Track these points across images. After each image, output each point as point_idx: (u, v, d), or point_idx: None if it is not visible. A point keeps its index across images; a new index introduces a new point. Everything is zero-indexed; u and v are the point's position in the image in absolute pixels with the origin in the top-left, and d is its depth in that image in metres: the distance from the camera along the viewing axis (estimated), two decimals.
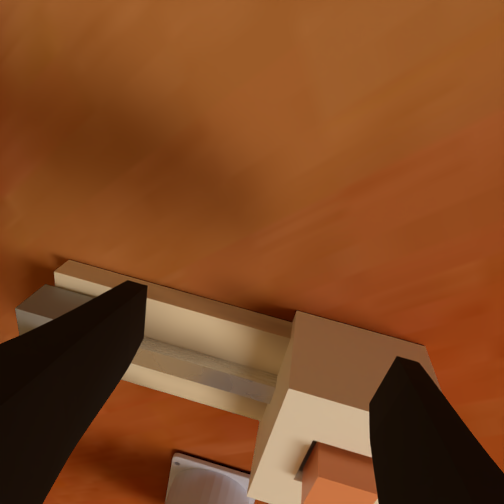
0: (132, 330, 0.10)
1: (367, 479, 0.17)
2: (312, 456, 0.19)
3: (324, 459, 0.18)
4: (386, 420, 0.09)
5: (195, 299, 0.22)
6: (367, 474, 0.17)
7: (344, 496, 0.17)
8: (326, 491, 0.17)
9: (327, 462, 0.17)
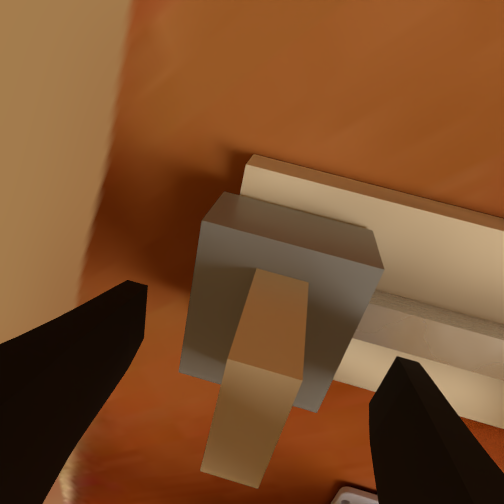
0: (132, 330, 0.10)
1: None
2: None
3: None
4: (386, 420, 0.09)
5: (503, 221, 0.12)
6: None
7: None
8: None
9: None
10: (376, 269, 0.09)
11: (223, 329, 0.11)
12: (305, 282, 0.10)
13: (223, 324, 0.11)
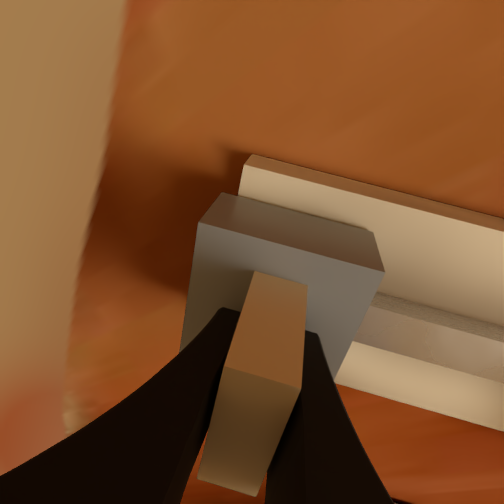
0: None
1: None
2: None
3: None
4: None
5: None
6: None
7: None
8: None
9: None
10: (377, 272, 0.09)
11: None
12: (304, 285, 0.10)
13: None
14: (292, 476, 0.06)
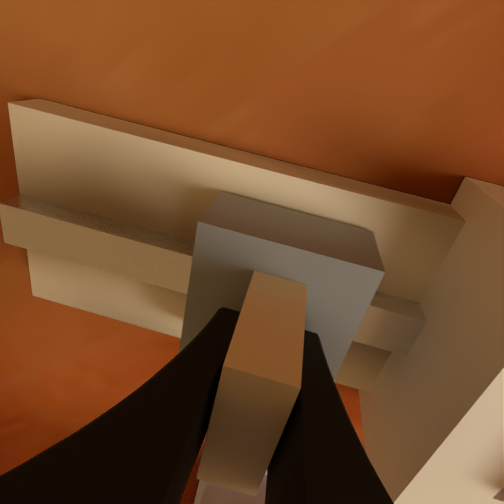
0: None
1: None
2: None
3: None
4: None
5: (271, 161, 0.12)
6: None
7: None
8: None
9: None
10: (376, 271, 0.09)
11: None
12: (304, 284, 0.10)
13: None
14: (292, 476, 0.06)
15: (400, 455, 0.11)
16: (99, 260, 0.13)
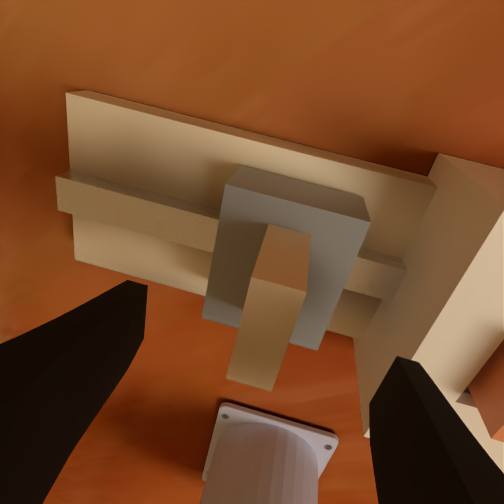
0: (132, 330, 0.10)
1: None
2: (503, 355, 0.11)
3: None
4: (386, 420, 0.09)
5: (280, 141, 0.15)
6: None
7: None
8: None
9: None
10: (364, 222, 0.12)
11: (240, 277, 0.14)
12: (308, 234, 0.12)
13: (240, 273, 0.13)
14: None
15: (384, 376, 0.13)
16: (137, 224, 0.15)
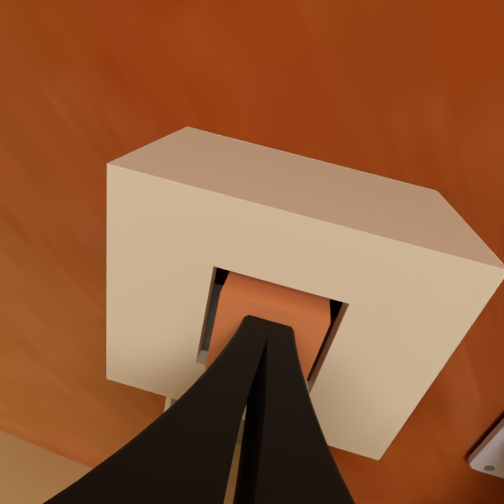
0: (257, 366, 0.09)
1: None
2: None
3: None
4: (254, 382, 0.09)
5: None
6: None
7: None
8: None
9: None
10: (172, 401, 0.15)
11: None
12: None
13: None
14: (252, 464, 0.06)
15: None
16: None
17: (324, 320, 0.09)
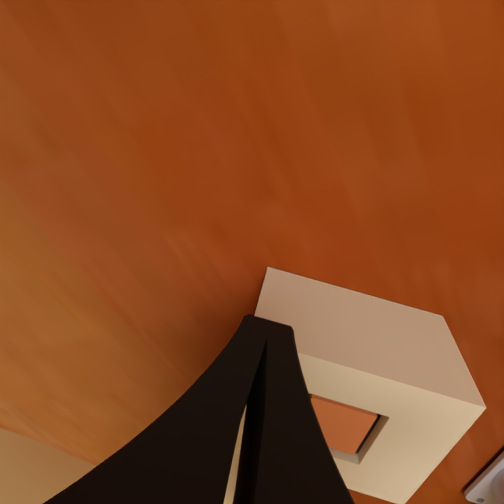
0: None
1: None
2: None
3: None
4: (254, 381, 0.09)
5: None
6: None
7: (322, 422, 0.17)
8: None
9: None
10: None
11: None
12: None
13: None
14: (252, 464, 0.06)
15: None
16: None
17: (373, 415, 0.16)
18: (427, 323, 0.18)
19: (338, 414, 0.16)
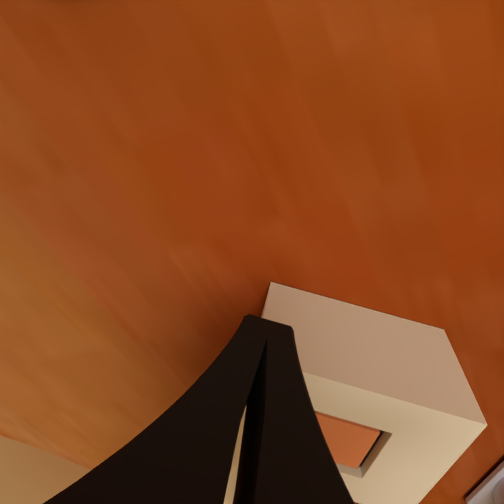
0: None
1: None
2: None
3: None
4: (254, 381, 0.09)
5: None
6: None
7: (326, 437, 0.17)
8: None
9: None
10: None
11: None
12: None
13: None
14: (252, 464, 0.06)
15: None
16: None
17: (376, 431, 0.16)
18: (428, 337, 0.19)
19: (342, 430, 0.16)
